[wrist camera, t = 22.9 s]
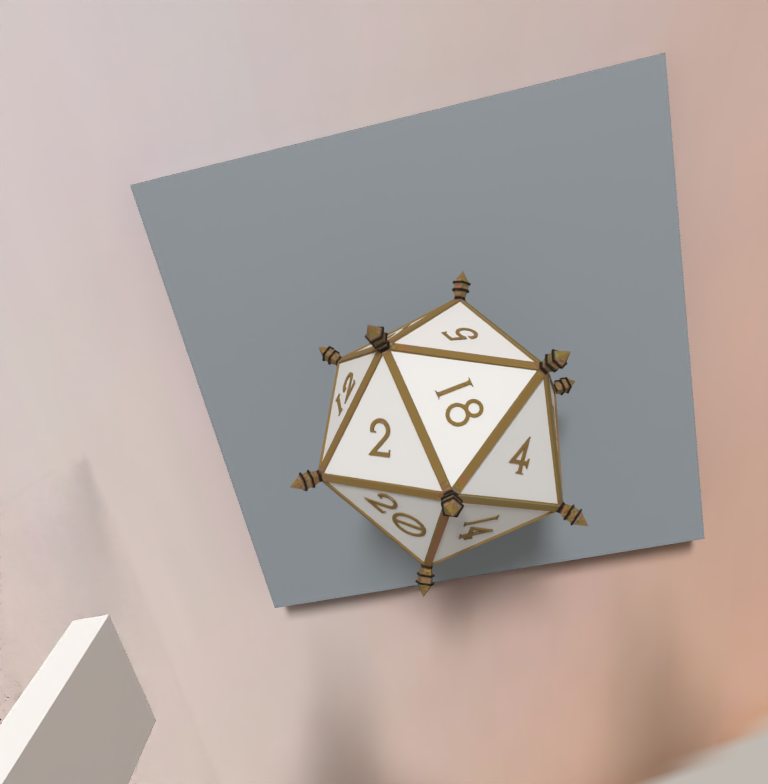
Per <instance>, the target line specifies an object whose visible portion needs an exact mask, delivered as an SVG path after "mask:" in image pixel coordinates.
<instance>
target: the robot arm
mask: <svg viewBox="0 0 768 784" xmlns="http://www.w3.org/2000/svg"><path fill="white" fill-rule="evenodd" d="M155 722H156V719H155V717H154V715H153V713H152V710H151V708H150V706H149V704H148V701H147V699H146V697H145V695H144V692H143V690H142V688H141V686H140V683H139V681H138V679H137V677H136V674H135V672H134V670H133V667H132V665H131V663H130V661H129V658H128V656H127V654H126V652H125V649H124V647H123V645H122V643H121V640H120V638H119V636H118V634H117V631H116V629H115V627H114V625H113V622H112V620H111V618H110V616H109V615H104V616H98V617H92V618H86V619H80V620H74V621H73V622H72V623H71V624H70V626H69V627H68V629H67V630H66V632H65V633H64V635H63V636H62V637H61V639H60V640H59V642H58V643H57V645H56V646H55V647H54V649H53V650H52V652H51V653H50V655H49V656H48V657H47V659H46V660H45V662H44V663H43V665H42V666H41V668H40V669H39V670H38V672H37V673H36V675H35V676H34V678H33V679H32V680H31V682H30V683H29V685H28V686H27V688H26V689H25V690H24V692H23V693H22V695H21V696H20V698H19V699H18V701H17V702H16V703H15V705H14V706H13V708H12V709H11V711H10V712H9V713H8V715H7V716H6V718H5V719H4V721H3V722H2V723H1V725H0V784H128V783H129V781H130V778H131V776H132V774H133V772H134V769H135V767H136V765H137V763H138V760H139V758H140V756H141V753H142V751H143V749H144V747H145V744H146V742H147V740H148V737H149V735H150V733H151V731H152V728H153V726H154V724H155Z"/></svg>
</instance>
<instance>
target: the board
mask: <svg viewBox="0 0 768 784" xmlns="http://www.w3.org/2000/svg"><path fill="white" fill-rule="evenodd" d="M130 186H131V189H132V192H133V195H134V198H135V201H136V204H137V207H138V209H139V212H140V215H141V218H142V221H143V224H144V227H145V230H146V233H147V236H148V239H149V242H150V244H151V247H152V250H153V253H154V256H155V259H156V262H157V265H158V268H159V271H160V274H161V277H162V279H163V282H164V285H165V288H166V291H167V294H168V297H169V300H170V303H171V306H172V309H173V312H174V315H175V317H176V320H177V323H178V326H179V329H180V332H181V335H182V338H183V341H184V344H185V347H186V350H187V352H188V355H189V358H190V361H191V364H192V367H193V370H194V373H195V376H196V379H197V382H198V385H199V388H200V390H201V393H202V396H203V399H204V402H205V405H206V408H207V411H208V414H209V417H210V420H211V423H212V425H213V428H214V431H215V434H216V437H217V440H218V443H219V446H220V449H221V452H222V455H223V458H224V461H225V463H226V466H227V469H228V472H229V475H230V478H231V481H232V484H233V487H234V490H235V493H236V496H237V498H238V501H239V504H240V507H241V510H242V513H243V516H244V519H245V522H246V525H247V528H248V531H249V534H250V536H251V539H252V542H253V545H254V548H255V551H256V554H257V557H258V560H259V563H260V566H261V569H262V571H263V574H264V577H265V580H266V583H267V586H268V589H269V592H270V595H271V598H272V601H273V604H274V607H275V608H278V607H285V606H291V605H297V604H303V603H309V602H316V601H322V600H328V599H334V598H340V597H347V596H353V595H359V594H365V593H371V592H377V591H384V590H390V589H396V588H402V587H408V586H415V585H418V583H416V582H415V580H417V579H418V575H417V572H419V571H420V569H421V563H420V562H418V561H417V560H416V559H415V558H414V557H412V556H411V555H410V554H409V553H408V552H406V551H405V550H404V549H403V548H402V547H400V546H399V545H398V544H397V543H395V542H394V541H393V540H392V539H391V538H389V537H388V536H387V535H386V534H385V533H383V532H382V531H381V530H380V529H379V528H377V527H376V526H375V525H374V524H373V523H371V522H370V521H369V520H368V519H366V518H365V517H364V516H363V515H362V514H360V513H359V512H358V511H357V510H356V509H354V508H353V507H352V506H351V505H350V504H348V503H347V502H346V501H345V500H343V499H342V498H341V497H340V496H339V495H337V494H336V493H335V492H334V491H333V490H331V489H330V488H329V487H328V486H327V485H325V484H324V483H323V482H319V483H318V484H317V485H315V488H312V487H311V488H309V489H308V491H304V490H303V489H297V488H290V486H291V485H292V484H293V482H294V481H295V480H296V478H297V477H298V476H299V473H300V472H301V474H303V473H306V472H307V470H309V471H317V470H318V468H319V462H320V457H321V452H322V446H323V441H324V435H325V430H326V424H327V419H328V413H329V408H330V402H331V397H332V391H333V386H334V380H335V375H336V369H337V366H336V365H334V364H330V365H329V364H328V362H327V361H322V358H323V357H322V355H321V352H320V350H319V347H329V346H331V347H333V348H334V350H336V351H338V352H340V353H339V354H340V356H341V357H343V356H345V355H347V354H349V353H351V352H353V351H355V350H357V349H359V348H360V347H362V346H364V345H366V344H368V343H369V341H368V340H367V339H366V338H365V337H364V336H365V335H366V334H367V326H368V325H372V326H376V327H384V332H385V333H389V332H391V331H393V330H395V329H397V328H399V327H401V326H403V325H405V324H407V323H409V322H411V321H413V320H414V319H416V318H418V317H420V316H422V315H424V314H426V313H428V312H430V311H432V310H434V309H436V308H438V307H440V306H441V305H443V304H445V303H447V302H449V301H451V300H453V299H454V297H455V296H454V292H453V291H452V288H454V284H453V281H455V280H456V279H457V277H458V276H459V275H460V274H461V273H462V272H464V274H465V276H466V278H467V280H468V282H469V283H471V285H470V286H469V288H468V290H469V293H467V295H466V297H465V300H466V302H468V303H469V304H470V305H471V306H473V307H474V308H475V309H476V310H478V311H479V312H480V313H482V314H483V315H484V316H485V317H487V318H488V319H489V320H490V321H492V322H493V323H494V324H495V325H497V326H498V327H499V328H500V329H502V330H503V331H504V332H505V333H507V334H508V335H509V336H510V337H512V338H513V339H514V340H515V341H517V342H518V343H519V344H520V345H522V346H523V347H524V348H525V349H527V350H528V351H529V352H530V353H532V354H533V355H534V356H536V357H537V358H538V359H539V360H541V361H543V360H544V358H545V354H550V353H551V350H552V349H554V350H558V351H571V352H570V355H569V357H568V359H567V363H568V364H567V365H566V366H565V367H564V368H563V369H560V368H559V369H558V370H557V371H556V372H555V373H554V372H553V371H552V372H549V374H550V376H551V379H552V382H553V383H554V381H555V380H560V378H564V377H567V378H568V379H570V380H574V381H575V382H574V384H573V385H572V388H571V390H570V392H569V393H568V394H567V393H564V394H563V395H560V394H556V400H557V415H558V430H559V445H560V460H561V475H562V490H563V502H564V503H565V504H568V505H571V506H572V505H573V504H574V505H575V506H574V507H575V508H577V509H579V510H580V509H582V513H583V516H584V518H585V520H586V522H587V524H588V526H582V525H572V526H571V525H570V524H571V523H570V522H568V521H567V520H563V519H564V518H563V517H562V515H561V514H560V513H558V512H555V513H553V514H550V515H548V516H546V517H544V518H541V519H539V520H537V521H534V522H532V523H530V524H527V525H525V526H523V527H521V528H518V529H516V530H514V531H511V532H509V533H507V534H504V535H502V536H500V537H498V538H495V539H493V540H491V541H488V542H486V543H484V544H481V545H479V546H477V547H475V548H472V549H470V550H468V551H465V552H463V553H461V554H458V555H456V556H454V557H452V558H449V559H447V560H445V561H442V562H440V563H438V564H435V565H433V568H432V570H433V574H435V577H433V582H439V581H446V580H452V579H458V578H464V577H470V576H476V575H483V574H489V573H495V572H501V571H507V570H514V569H520V568H526V567H532V566H538V565H545V564H551V563H557V562H563V561H569V560H575V559H582V558H588V557H594V556H600V555H606V554H613V553H619V552H625V551H631V550H637V549H644V548H650V547H656V546H662V545H668V544H674V543H681V542H687V541H693V540H699V539H704V528H703V515H702V503H701V491H700V478H699V466H698V453H697V441H696V429H695V416H694V404H693V392H692V379H691V367H690V354H689V342H688V330H687V317H686V305H685V293H684V280H683V268H682V255H681V243H680V231H679V218H678V206H677V194H676V181H675V169H674V156H673V144H672V132H671V119H670V107H669V95H668V82H667V70H666V57H665V53H662V54H658V55H654V56H650V57H646V58H642V59H638V60H634V61H630V62H626V63H622V64H618V65H614V66H610V67H606V68H602V69H598V70H594V71H589V72H585V73H581V74H577V75H573V76H569V77H565V78H561V79H557V80H553V81H549V82H545V83H541V84H537V85H533V86H529V87H525V88H521V89H517V90H513V91H509V92H505V93H501V94H497V95H493V96H489V97H484V98H480V99H476V100H472V101H468V102H464V103H460V104H456V105H452V106H448V107H444V108H440V109H436V110H432V111H428V112H424V113H420V114H416V115H412V116H408V117H404V118H400V119H396V120H392V121H388V122H384V123H379V124H375V125H371V126H367V127H363V128H359V129H355V130H351V131H347V132H343V133H339V134H335V135H331V136H327V137H323V138H319V139H315V140H311V141H307V142H303V143H299V144H295V145H291V146H287V147H283V148H279V149H275V150H270V151H266V152H262V153H258V154H254V155H250V156H246V157H242V158H238V159H234V160H230V161H226V162H222V163H218V164H214V165H210V166H206V167H202V168H198V169H194V170H190V171H186V172H182V173H178V174H174V175H170V176H165V177H161V178H157V179H153V180H149V181H145V182H141V183H137V184H133V185H130Z"/></svg>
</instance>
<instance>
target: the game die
mask: <svg viewBox="0 0 768 784" xmlns="http://www.w3.org/2000/svg"><path fill="white" fill-rule="evenodd" d="M453 284H454V288H452V291H453V292H454V296H455V297H454V299H453V300H451V301H449V302H447V303H445V304H443V305H441V306H440V307H438V308H436V309H434V310H432V311H430V312H428V313H426V314H424V315H422V316H420V317H418V318H416V319H414V320H413V321H411V322H409V323H407V324H405V325H403V326H401V327H399V328H397V329H395V330H393V331H391V332H389V333H385V332H384V327H376V326H372V325H368V326H367V334H366V335H365V336H364V337H365V338H366V339H367V340H368V341H369V343H368V344H366V345H364V346H362V347H360V348H359V349H357V350H355V351H353V352H351V353H349V354H347V355H345V356H343V357H341V356H340V354H339V353H340V352H338V351H336V350H334V348H333V347H331V346H329V347H319V350H320V352H321V355H322V357H323V358H322V361H327V362H328V364H329V365H330V364H334V365H336V366H337V369H336V375H335V380H334V386H333V391H332V397H331V402H330V408H329V413H328V419H327V424H326V430H325V435H324V441H323V446H322V452H321V457H320V462H319V468H318V470H317V471H309V470H307V472H306V473H303V474H301V472H300V473H299V476H298V477H297V478H296V480H295V481H294V482H293V484H292V485H291V486H290V488H297V489H303V490H304V491H308V489H309V488H311V487H312V488H315V485H317V484H318V483H319V482H323V483H324V484H325V485H327V486H328V487H329V488H330V489H331V490H333V491H334V492H335V493H336V494H337V495H339V496H340V497H341V498H342V499H343V500H345V501H346V502H347V503H348V504H350V505H351V506H352V507H353V508H354V509H356V510H357V511H358V512H359V513H360V514H362V515H363V516H364V517H365V518H366V519H368V520H369V521H370V522H371V523H373V524H374V525H375V526H376V527H377V528H379V529H380V530H381V531H382V532H383V533H385V534H386V535H387V536H388V537H389V538H391V539H392V540H393V541H394V542H395V543H397V544H398V545H399V546H400V547H402V548H403V549H404V550H405V551H406V552H408V553H409V554H410V555H411V556H412V557H414V558H415V559H416V560H417V561H418V562H420V563H421V569H420V571H419V572H417V575H418V579H417V580H415V582H416V583H418V586H419V588H420V590H421V592H422V595H423V597H424V595H425V594H426V592H427V591H428V590H429V588H430V587H431V586H432V585H434V582H433V577H435V574H433V570H432V568H433V565H435V564H438V563H440V562H442V561H445V560H447V559H449V558H452V557H454V556H456V555H458V554H461V553H463V552H465V551H468V550H470V549H472V548H475V547H477V546H479V545H481V544H484V543H486V542H488V541H491V540H493V539H495V538H498V537H500V536H502V535H504V534H507V533H509V532H511V531H514V530H516V529H518V528H521V527H523V526H525V525H527V524H530V523H532V522H534V521H537V520H539V519H541V518H544V517H546V516H548V515H550V514H553V513H555V512H558V513H560V514H561V515H562V517H563V518H564V519H563V520H567V521H568V522H570V523H571V524H570V525H571V526H572V525H582V526H588V524H587V522H586V520H585V518H584V516H583V513H582V509H580V510H579V509H577V508H575V507H574V506H575V505H574V504H573V505H572V506H571V505H568V504H565V503H564V502H563V490H562V475H561V460H560V445H559V430H558V415H557V400H556V394H560V395H563V394H564V393H567V394H568V393H569V392H570V390H571V388H572V385H573V384H574V382H575V381H574V380H570V379H568V378H567V377H564V378H560V380H555V381H554V383H553V382H552V379H551V376H550V374H549V372H552V371H553V372H554V373H555V372H556V371H557V370H558V369H559V368H560V369H563V368H564V367H565V366H566V365H567V364H568V363H567V359H568V357H569V355H570V352H571V351H558V350H554V349H552V350H551V353H550V354H545V358H544V360H543V361H541V360H539V359H538V358H537V357H536V356H534V355H533V354H532V353H530V352H529V351H528V350H527V349H525V348H524V347H523V346H522V345H520V344H519V343H518V342H517V341H515V340H514V339H513V338H512V337H510V336H509V335H508V334H507V333H505V332H504V331H503V330H502V329H500V328H499V327H498V326H497V325H495V324H494V323H493V322H492V321H490V320H489V319H488V318H487V317H485V316H484V315H483V314H482V313H480V312H479V311H478V310H476V309H475V308H474V307H473V306H471V305H470V304H469V303H468V302H466V300H465V297H466V295H467V293H469V290H468V288H469V286H470V285H471V283H469V282H468V280H467V278H466V276H465V274H464V272H462V273H461V274H460V275H459V276H458V277H457V279H456V280H455V281H453Z"/></svg>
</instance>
